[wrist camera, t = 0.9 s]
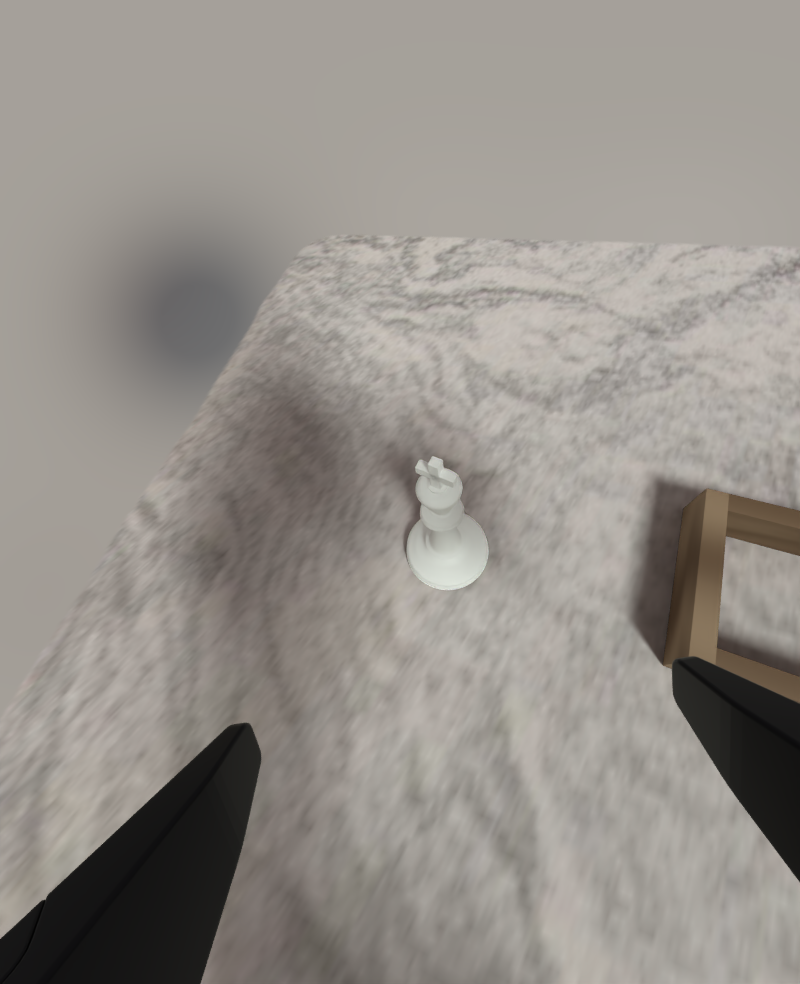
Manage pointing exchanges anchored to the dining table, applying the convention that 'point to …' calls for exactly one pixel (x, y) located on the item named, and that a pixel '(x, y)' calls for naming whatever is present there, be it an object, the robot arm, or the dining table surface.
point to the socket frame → (703, 579)
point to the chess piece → (444, 532)
